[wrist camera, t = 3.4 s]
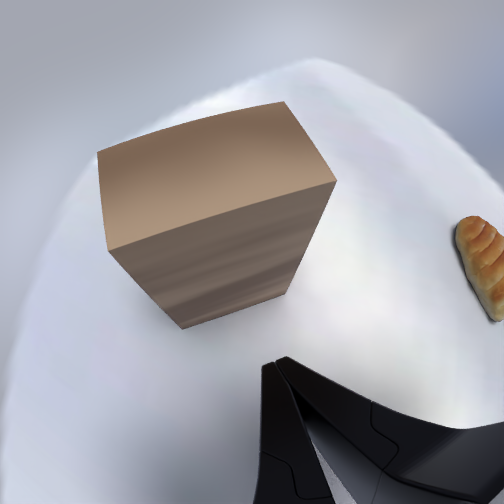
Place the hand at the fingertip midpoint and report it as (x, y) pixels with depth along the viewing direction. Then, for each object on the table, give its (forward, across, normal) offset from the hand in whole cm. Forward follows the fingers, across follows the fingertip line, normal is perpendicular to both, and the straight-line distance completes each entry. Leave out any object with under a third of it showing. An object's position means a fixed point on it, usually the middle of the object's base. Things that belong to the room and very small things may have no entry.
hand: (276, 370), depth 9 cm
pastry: (+6, -21, +8) cm, 24 cm away
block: (+11, 0, +2) cm, 12 cm away
